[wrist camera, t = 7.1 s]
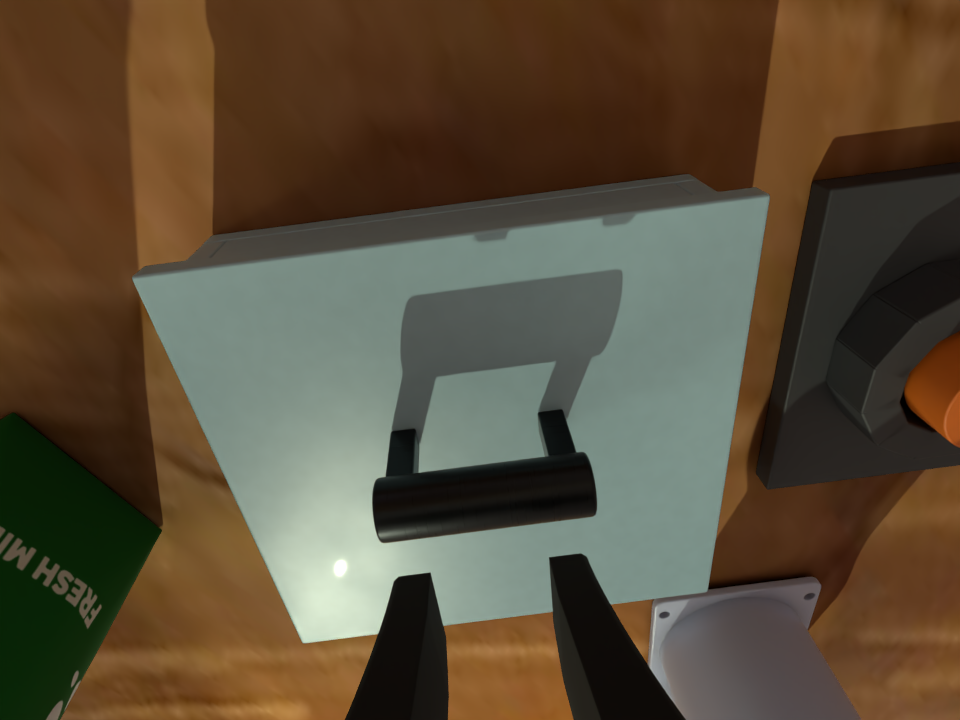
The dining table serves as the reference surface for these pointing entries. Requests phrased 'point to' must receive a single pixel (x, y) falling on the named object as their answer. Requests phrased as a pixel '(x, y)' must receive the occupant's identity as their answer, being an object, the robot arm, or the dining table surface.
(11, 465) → the milk carton
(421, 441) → the freezer lid
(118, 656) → the dining table surface
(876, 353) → the release block
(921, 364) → the button
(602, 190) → the box
